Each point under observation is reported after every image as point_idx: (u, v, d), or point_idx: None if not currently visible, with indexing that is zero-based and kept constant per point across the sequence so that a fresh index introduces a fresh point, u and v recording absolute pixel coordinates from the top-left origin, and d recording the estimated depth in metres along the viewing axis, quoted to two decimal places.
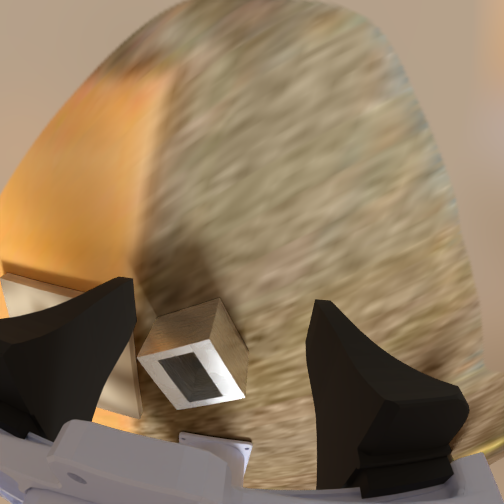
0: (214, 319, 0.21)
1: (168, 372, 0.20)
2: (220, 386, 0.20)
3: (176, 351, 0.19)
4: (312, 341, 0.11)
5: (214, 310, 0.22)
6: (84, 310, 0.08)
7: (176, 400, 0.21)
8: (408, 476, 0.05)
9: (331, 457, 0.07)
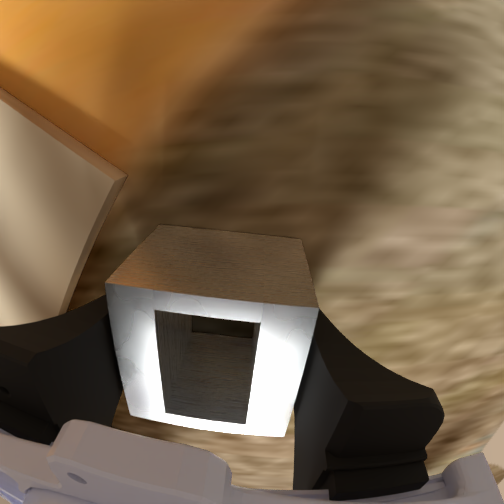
0: (309, 272, 0.10)
1: (159, 343, 0.09)
2: (256, 408, 0.09)
3: (217, 307, 0.08)
4: None
5: (300, 255, 0.11)
6: (105, 314, 0.08)
7: (140, 401, 0.10)
8: (380, 480, 0.05)
9: (305, 457, 0.07)
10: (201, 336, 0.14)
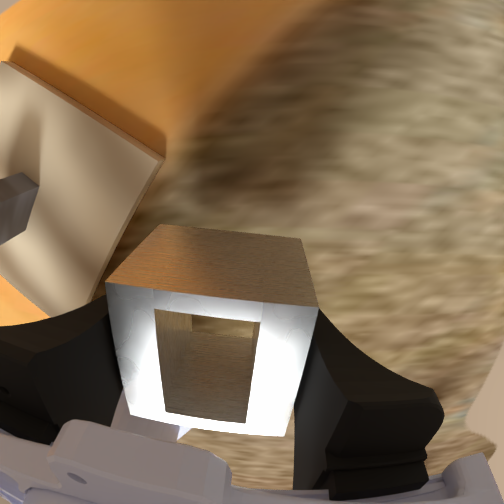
0: (309, 271, 0.10)
1: (159, 343, 0.09)
2: (256, 407, 0.09)
3: (217, 306, 0.08)
4: None
5: (300, 255, 0.11)
6: (105, 314, 0.08)
7: (140, 400, 0.10)
8: (379, 480, 0.05)
9: (305, 457, 0.07)
10: (201, 336, 0.14)
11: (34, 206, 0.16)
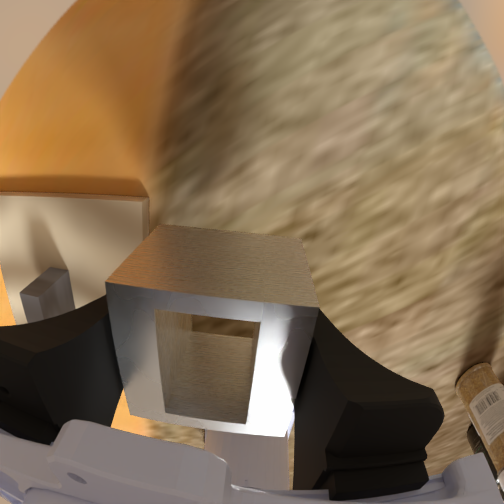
0: (309, 271, 0.10)
1: (159, 343, 0.09)
2: (256, 407, 0.09)
3: (217, 306, 0.08)
4: None
5: (300, 255, 0.11)
6: (105, 314, 0.08)
7: (140, 400, 0.10)
8: (380, 480, 0.05)
9: (305, 457, 0.07)
10: (201, 336, 0.14)
11: (72, 287, 0.21)
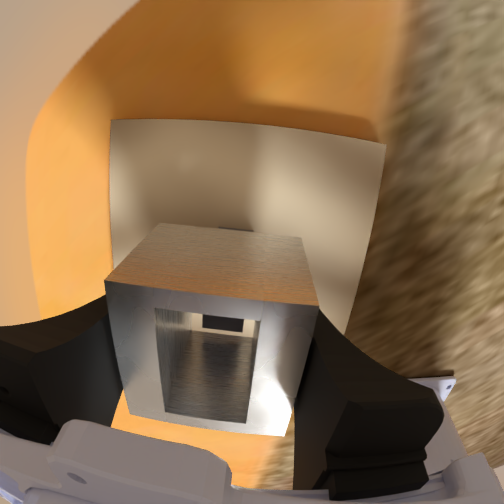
0: (309, 270, 0.10)
1: (159, 342, 0.09)
2: (256, 407, 0.09)
3: (216, 305, 0.08)
4: None
5: (300, 253, 0.11)
6: (105, 314, 0.08)
7: (140, 399, 0.10)
8: (379, 480, 0.05)
9: (305, 457, 0.07)
10: (201, 335, 0.14)
11: None
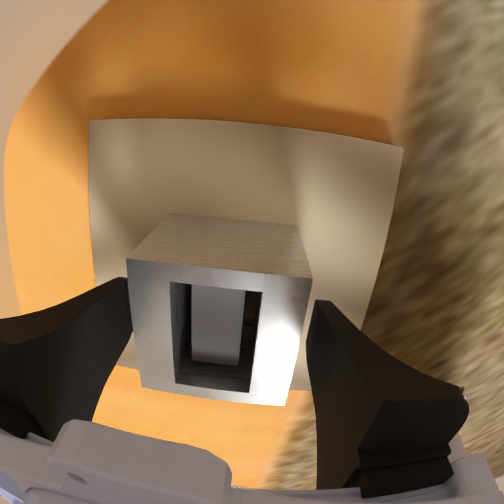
0: (305, 251, 0.11)
1: (172, 314, 0.10)
2: (258, 375, 0.11)
3: (224, 278, 0.09)
4: (312, 341, 0.11)
5: (297, 238, 0.12)
6: (84, 310, 0.08)
7: (153, 371, 0.11)
8: (408, 475, 0.05)
9: (331, 457, 0.07)
10: None
11: None
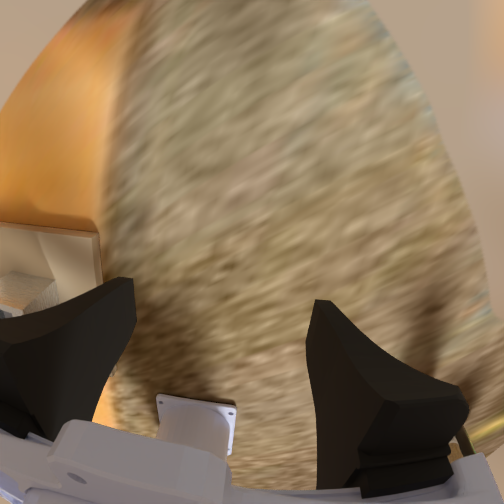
0: (37, 296, 0.20)
1: None
2: None
3: (1, 306, 0.18)
4: (312, 341, 0.11)
5: (43, 288, 0.21)
6: (84, 310, 0.08)
7: None
8: (409, 475, 0.05)
9: (332, 457, 0.07)
10: None
11: None
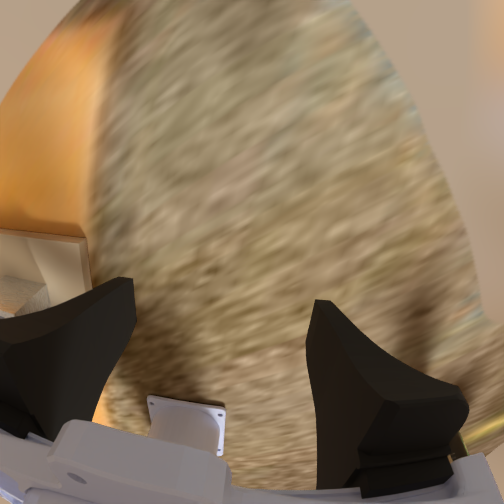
0: (28, 300, 0.21)
1: None
2: None
3: None
4: (312, 341, 0.11)
5: (34, 293, 0.22)
6: (84, 310, 0.08)
7: None
8: (408, 476, 0.05)
9: (331, 457, 0.07)
10: None
11: None
